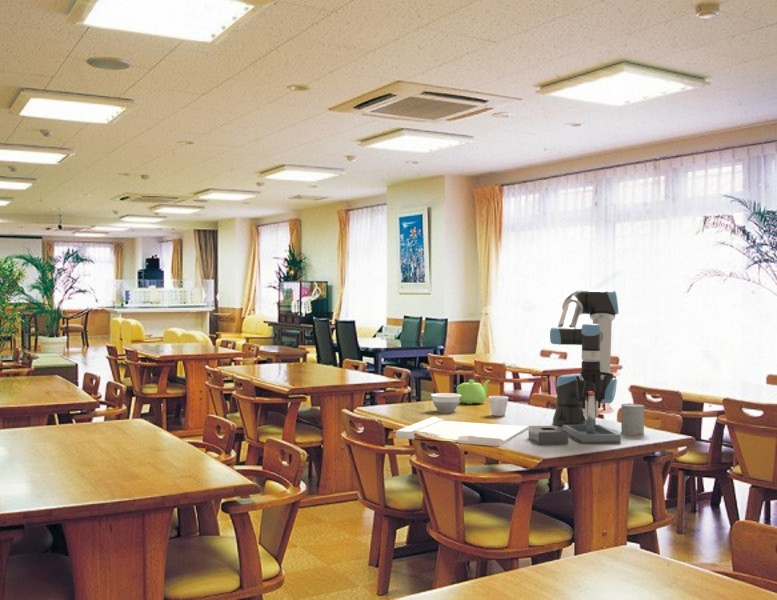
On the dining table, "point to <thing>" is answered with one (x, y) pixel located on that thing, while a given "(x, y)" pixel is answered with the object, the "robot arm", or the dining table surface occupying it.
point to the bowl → (446, 401)
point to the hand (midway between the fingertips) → (590, 416)
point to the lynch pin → (591, 412)
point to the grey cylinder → (632, 419)
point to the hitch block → (548, 435)
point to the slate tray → (592, 435)
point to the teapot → (472, 392)
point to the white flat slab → (464, 431)
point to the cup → (498, 405)
